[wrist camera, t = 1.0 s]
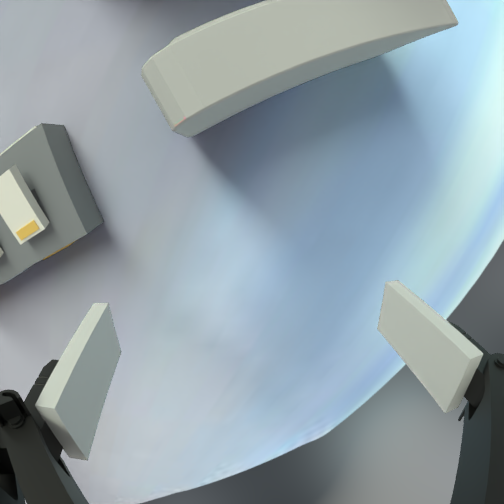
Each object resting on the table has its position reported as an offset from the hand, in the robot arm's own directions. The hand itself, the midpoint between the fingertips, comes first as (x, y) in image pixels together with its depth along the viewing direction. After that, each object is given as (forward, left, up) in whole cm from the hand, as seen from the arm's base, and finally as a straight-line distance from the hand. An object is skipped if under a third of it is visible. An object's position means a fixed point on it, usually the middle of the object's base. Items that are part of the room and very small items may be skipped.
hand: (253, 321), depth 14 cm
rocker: (-12, -21, -18) cm, 30 cm away
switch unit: (-12, -30, -26) cm, 41 cm away
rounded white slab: (-14, +13, -26) cm, 32 cm away
